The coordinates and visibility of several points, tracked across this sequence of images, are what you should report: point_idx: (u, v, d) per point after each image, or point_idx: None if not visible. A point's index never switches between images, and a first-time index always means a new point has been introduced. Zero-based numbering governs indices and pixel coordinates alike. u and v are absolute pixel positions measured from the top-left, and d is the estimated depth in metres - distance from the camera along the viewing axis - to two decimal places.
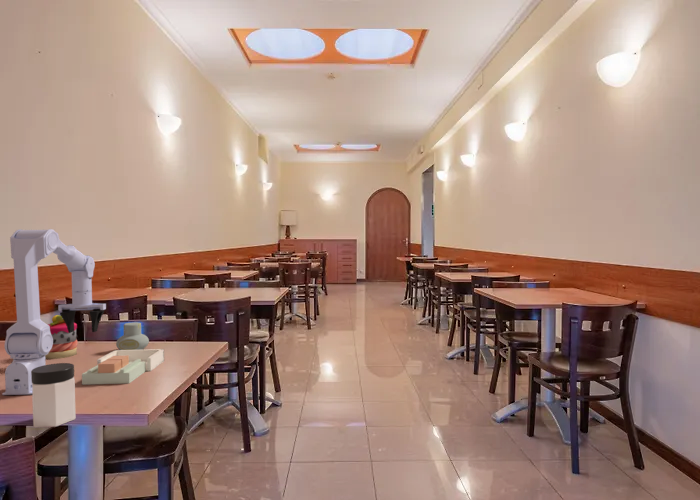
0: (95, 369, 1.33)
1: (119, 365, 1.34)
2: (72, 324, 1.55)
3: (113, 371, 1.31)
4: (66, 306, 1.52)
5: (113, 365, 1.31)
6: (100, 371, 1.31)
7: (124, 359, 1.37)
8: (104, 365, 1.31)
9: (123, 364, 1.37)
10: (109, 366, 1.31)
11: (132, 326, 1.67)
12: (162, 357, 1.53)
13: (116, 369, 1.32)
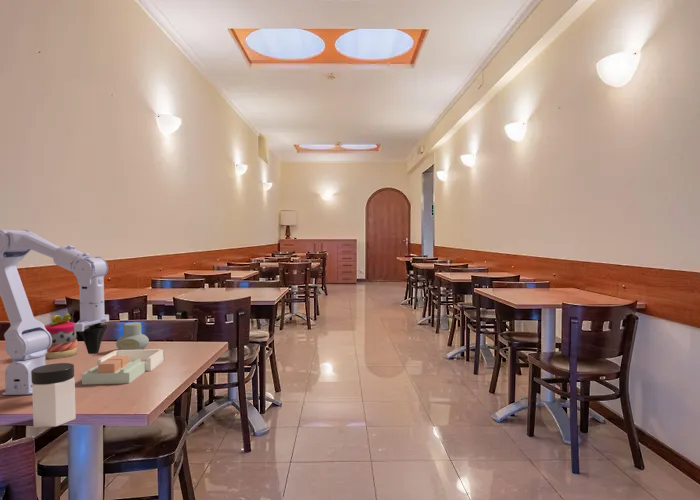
0: (95, 369, 1.33)
1: (119, 365, 1.34)
2: None
3: (113, 371, 1.31)
4: None
5: (113, 365, 1.31)
6: (100, 371, 1.31)
7: (124, 359, 1.37)
8: (104, 365, 1.31)
9: (123, 364, 1.37)
10: (109, 366, 1.31)
11: (132, 326, 1.67)
12: (162, 357, 1.53)
13: (116, 369, 1.32)
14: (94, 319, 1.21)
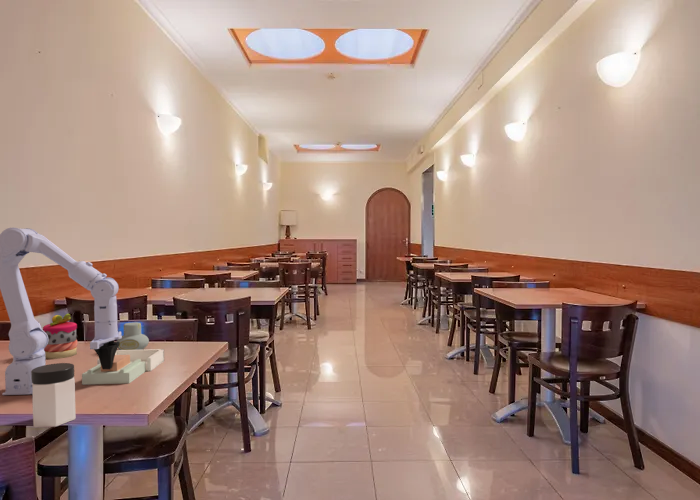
0: (95, 369, 1.33)
1: (121, 364, 1.35)
2: None
3: (115, 369, 1.32)
4: None
5: (115, 364, 1.32)
6: (103, 369, 1.32)
7: (125, 358, 1.38)
8: None
9: (124, 363, 1.38)
10: (112, 365, 1.32)
11: (132, 326, 1.67)
12: (162, 357, 1.53)
13: (118, 368, 1.34)
14: (108, 337, 1.29)
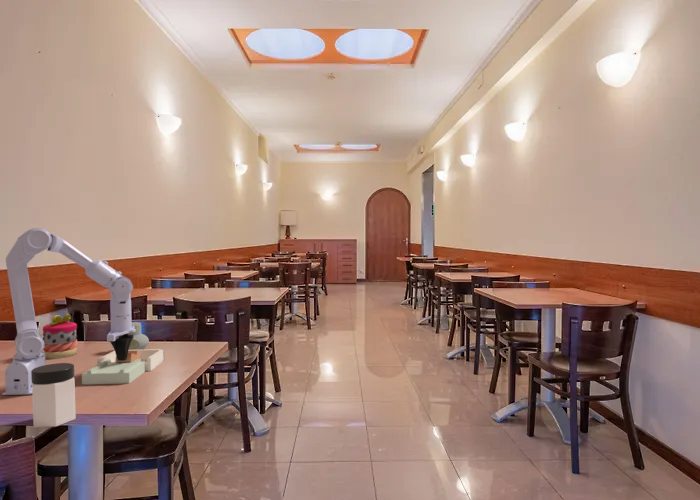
0: (95, 369, 1.33)
1: (135, 358, 1.45)
2: None
3: (129, 360, 1.41)
4: None
5: (130, 354, 1.42)
6: (117, 360, 1.41)
7: (139, 355, 1.48)
8: None
9: (137, 353, 1.47)
10: None
11: None
12: (162, 357, 1.53)
13: (132, 360, 1.43)
14: (123, 330, 1.38)
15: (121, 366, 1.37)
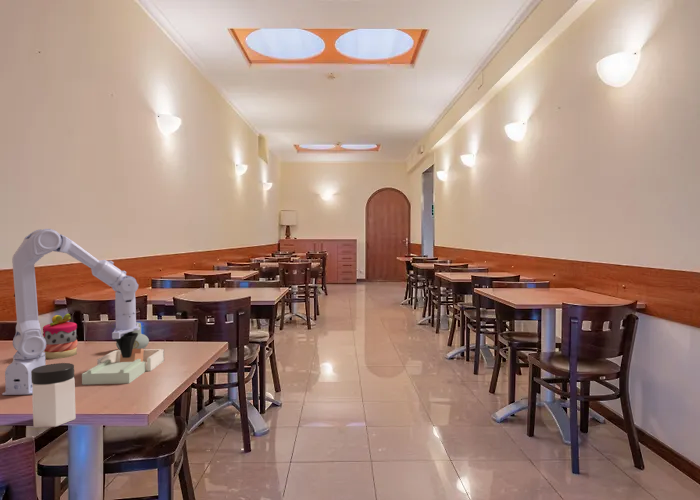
0: (95, 369, 1.33)
1: (138, 357, 1.48)
2: None
3: (133, 360, 1.45)
4: None
5: (134, 354, 1.45)
6: (121, 360, 1.44)
7: (142, 353, 1.51)
8: None
9: (141, 351, 1.50)
10: None
11: None
12: (162, 357, 1.53)
13: None
14: (128, 328, 1.42)
15: (121, 366, 1.37)
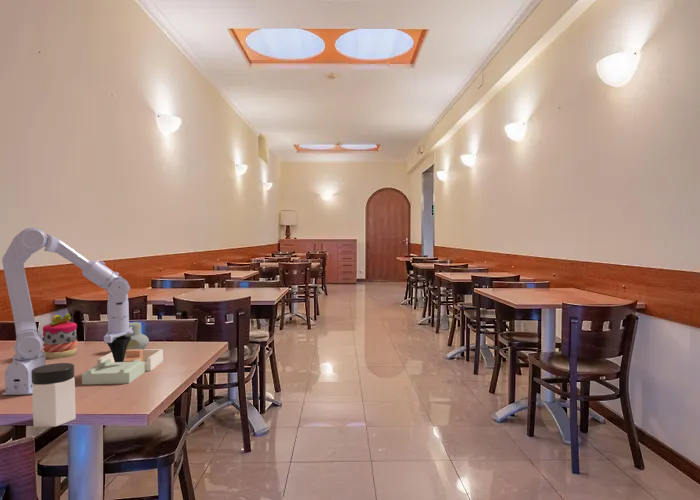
0: (95, 369, 1.33)
1: None
2: None
3: None
4: None
5: None
6: None
7: (142, 354, 1.51)
8: None
9: (140, 352, 1.49)
10: None
11: (132, 326, 1.67)
12: (162, 357, 1.53)
13: None
14: (120, 331, 1.36)
15: (121, 366, 1.37)
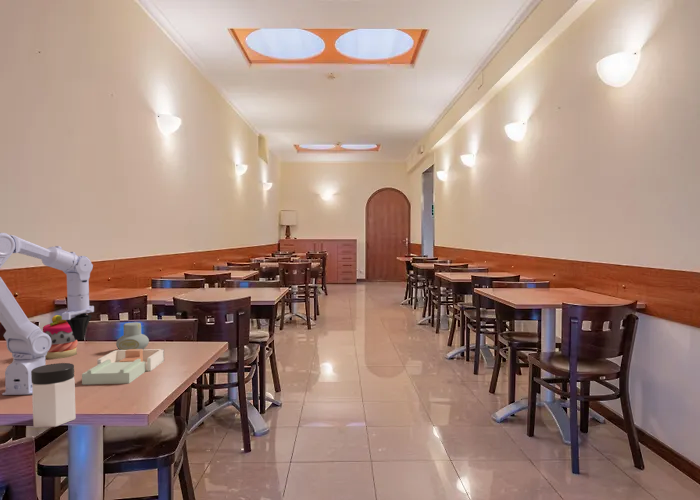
0: (95, 369, 1.33)
1: None
2: None
3: None
4: None
5: None
6: None
7: (142, 354, 1.51)
8: None
9: (140, 352, 1.49)
10: None
11: (132, 326, 1.67)
12: (162, 357, 1.53)
13: None
14: (80, 309, 1.38)
15: (121, 366, 1.37)
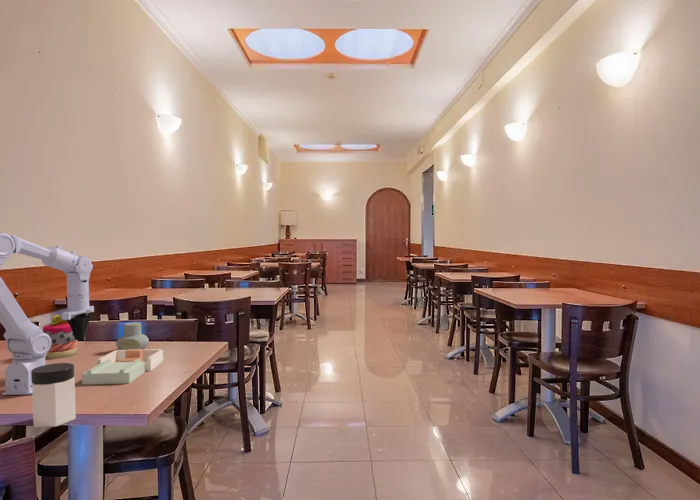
0: (95, 369, 1.33)
1: None
2: None
3: None
4: None
5: None
6: None
7: (142, 354, 1.51)
8: None
9: (140, 352, 1.49)
10: None
11: (132, 326, 1.67)
12: (162, 357, 1.53)
13: None
14: (80, 309, 1.38)
15: (121, 366, 1.37)
